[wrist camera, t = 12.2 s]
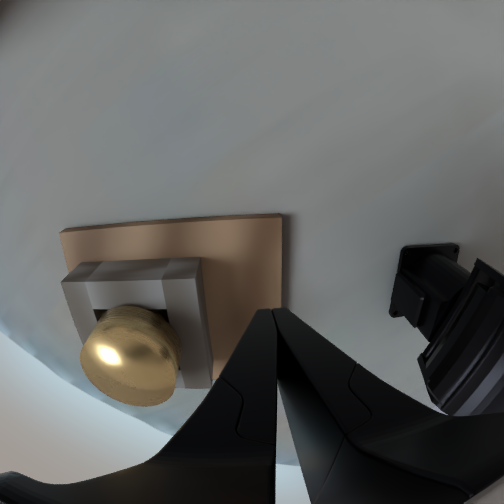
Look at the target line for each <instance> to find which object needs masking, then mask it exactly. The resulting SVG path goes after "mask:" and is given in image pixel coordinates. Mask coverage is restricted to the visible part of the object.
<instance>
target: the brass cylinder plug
mask: <svg viewBox="0 0 504 504" xmlns="http://www.w3.org/2000/svg"><path fill="white" fill-rule="evenodd" d="M181 351H182V350H181V343H180V340H179V338H178V336H177V334H176V332H175V331H174V329H173V328H172V327H171V326H170V323H169V318H168V313H167V309H143V308H139V307H135V306H119V307H115V308H112V309H110V310H108V311H106V312H105V313H104V314H103V315H102V316H101V317H100V319H99V321H98V322H97V324H96V325H95V327H94V329H93V330H92V332H91V334H90V335H89V337H88V339H87V341H86V342H85V344H84V346H83V347H82V350H81V353H80V362H81V366H82V369H83V371H84V373H85V375H86V376H87V377H88V379H89V380H90V381H91V383H92V384H93V385H94V386H95V387H97V388H98V389H99V390H100V391H101V392H103V393H104V394H106V395H107V396H109V397H111V398H113V399H115V400H117V401H120V402H122V403H125V404H129V405H134V406H154V405H158V404H161V403H163V402H165V401H167V400H168V399H169V398H170V397H171V396H172V394H173V392H174V389H175V384H176V379H177V374H178V368H179V363H180V358H181Z"/></svg>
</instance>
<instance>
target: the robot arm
mask: <svg viewBox="0 0 504 504" xmlns="http://www.w3.org/2000/svg"><path fill="white" fill-rule="evenodd" d="M454 249H455V250H454ZM407 251H408V253H407V254H406V252H407ZM405 254H406V255H405ZM458 254H459V246H458V245H456V244H437V245H418V246H405V247H403V248H402V250H401V252H400V258H399V264H398V270H397V274H396V277H395V282H394V287H393V292H392V297H391V305H390V309H389V314H390V316H391V317H393V318H396V317H402V316H405V318H406V319H407V320H408V321H409V322H410V324H411V325H412V326H413V327H414V328H416V327H417V328H418V329H419V330H420V332H421V333H422V334H423V335H424V337H425V338H426V339H427V340H428V342H430V343H429V345H428V346H427V347H426V349H425V350H424V352H423V353H421V354H420V355H419V357H418V358H417V360H418V363H419V366H420V369H421V372H422V375H423V378H424V382H425V385H426V388H427V391H428V394H429V396H430V399H431V401H432V403H434V404H435V405H436V406H437V407H438V408H439V409H440V410H441V411H443V412H445V413H446V414H448V415H445V414H442V413H439V412H437V411H435V410H433V409H431V408H429V407H427V406H426V405H424V404H422V403H420V402H418V401H417V400H415V399H413V398H411V397H409V396H408V395H406V394H404V393H402V392H401V391H399V390H397V389H395V388H394V387H392V386H391V385H389V384H387V383H386V382H384V381H382V380H381V379H379V378H378V377H377V376H375V375H374V374H372V373H371V372H369V371H368V370H367V369H365V368H364V367H363V366H361V365H360V364H358V363H357V362H356V361H354V360H353V359H352V358H351V357H349V356H348V355H347V354H345V353H344V352H343V351H341V350H340V349H339V348H337V347H336V346H335V345H333V344H332V343H331V342H330V341H328V340H327V339H326V338H324V337H323V336H322V335H320V334H319V333H318V332H317V331H315V330H314V329H313V328H311V327H310V326H309V325H308V324H306V323H305V322H304V321H302V320H301V319H300V318H299V317H297V316H296V315H295V314H293V313H292V312H291V311H290V310H288V309H287V308H285V307H281V308H273V309H272V310H271V309H269V308H267V309H257V310H256V312H255V314H254V315H253V317H252V319H251V321H250V323H249V324H248V326H247V328H246V330H245V331H244V333H243V335H242V337H241V338H240V340H239V342H238V344H237V345H236V347H235V349H234V351H233V352H232V354H231V356H230V358H229V359H228V361H227V363H226V364H225V366H224V368H223V370H222V371H221V373H220V375H219V377H218V378H217V380H216V381H215V383H214V385H213V386H212V388H211V389H210V391H209V392H208V394H207V396H206V397H205V399H204V400H203V401H202V403H201V404H200V405H199V406H198V408H197V409H196V410H195V411H194V413H193V414H192V415H191V416H190V418H189V419H188V420H187V421H186V422H185V423H184V424H183V426H182V427H181V428H180V429H179V430H178V431H177V432H176V434H175V435H174V436H173V437H172V438H171V439H170V441H169V442H168V443H167V444H166V445H165V446H164V447H163V448H162V449H161V450H160V451H159V452H158V453H157V454H156V455H155V456H153V457H152V458H150V459H149V460H147V461H145V462H144V463H141V464H139V465H136V466H133V467H130V468H127V469H124V470H120V471H117V472H114V473H111V474H107V475H104V476H100V477H96V478H93V479H89V480H86V481H81V482H77V483H71V484H48V483H43V482H40V481H37V480H34V479H32V478H30V477H27V476H25V475H23V474H20V473H18V472H13V471H9V472H5V473H1V474H0V504H275V477H276V470H275V469H276V433H277V382H278V387H279V390H280V394H281V398H282V401H283V405H284V409H285V412H286V416H287V420H288V423H289V427H290V430H291V434H292V438H293V441H294V445H295V448H296V452H297V456H298V459H299V463H300V466H301V470H302V473H303V477H304V480H305V484H306V487H307V491H308V494H309V498H310V501H311V504H504V275H503V274H502V273H500V272H499V271H497V270H496V269H494V268H493V267H491V266H490V265H488V264H486V263H485V262H483V261H482V260H480V259H478V258H477V259H476V262H475V264H474V265H475V266H474V268H473V270H472V272H471V273H470V272H469V271H467V270H466V269H465V268H463V267H462V266H461V265H459V264H458V263H457V259H458ZM394 311H395V312H394Z"/></svg>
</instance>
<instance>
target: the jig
mask: <svg viewBox="0 0 504 504" xmlns="http://www.w3.org/2000/svg"><path fill="white" fill-rule="evenodd" d="M59 235H60V239H61V244H62V248H63V252H64V256H65V260H66V264H67V268H68V271H69V274H68V275H67V276H66V277H65V278H64V279H63V280H62V281H61V285H62V288H63V291H64V294H65V297H66V300H67V303H68V306H69V309H70V312H71V315H72V318H73V320H74V323H75V326H76V328H77V331H78V334H79V336H80V339H81V341H82V344H83V346H84V344H85V342H86V341H87V339H88V337H89V335H90V334H91V332H92V330H93V329H94V327H95V325H96V324H97V322H98V321H99V319H100V317H101V316H102V315H103V314H104V313H105V312H106V311H108V310H110V309H112V308H115V307H119V306H135V307H139V308H143V309H167V313H168V318H169V323H170V326H171V327H172V328H173V329H174V331H175V332H176V334H177V336H178V338H179V340H180V343H181V350H182V351H181V358H180V363H179V368H178V374H177V379H176V384H175V388H190V389H203V388H212V380H217V378H218V377H219V375H220V373H221V371H222V370H223V368H224V366H225V364H226V363H227V361H228V359H229V358H230V356H231V354H232V352H233V351H234V349H235V347H236V345H237V344H238V342H239V340H240V338H241V337H242V335H243V333H244V331H245V330H246V328H247V326H248V324H249V323H250V321H251V319H252V317H253V315H254V314H255V312H256V310H257V309H267V308H269V309H271V310H272V309H273V308H281V280H282V217H281V215H280V214H256V215H235V216H216V217H199V218H183V219H168V220H155V221H142V222H130V223H118V224H107V225H96V226H86V227H76V228H67V229H64V230H63V231H61V232H60V233H59Z"/></svg>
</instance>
